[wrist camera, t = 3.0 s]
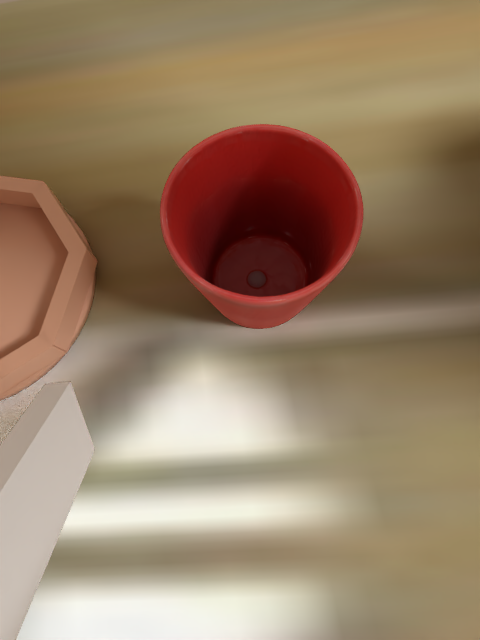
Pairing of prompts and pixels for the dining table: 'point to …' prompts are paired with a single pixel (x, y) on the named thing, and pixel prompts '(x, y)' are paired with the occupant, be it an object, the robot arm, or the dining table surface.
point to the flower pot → (261, 220)
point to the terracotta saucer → (39, 282)
